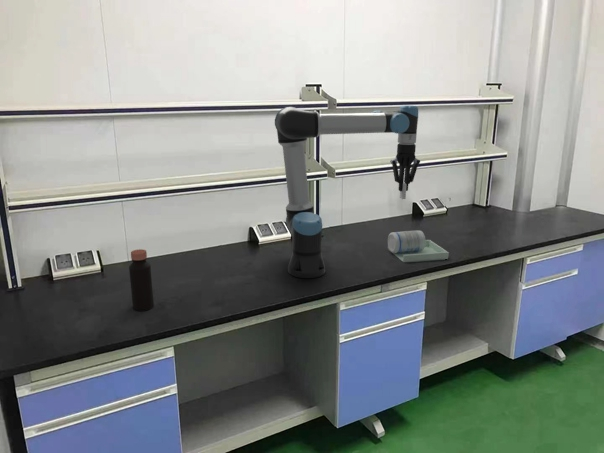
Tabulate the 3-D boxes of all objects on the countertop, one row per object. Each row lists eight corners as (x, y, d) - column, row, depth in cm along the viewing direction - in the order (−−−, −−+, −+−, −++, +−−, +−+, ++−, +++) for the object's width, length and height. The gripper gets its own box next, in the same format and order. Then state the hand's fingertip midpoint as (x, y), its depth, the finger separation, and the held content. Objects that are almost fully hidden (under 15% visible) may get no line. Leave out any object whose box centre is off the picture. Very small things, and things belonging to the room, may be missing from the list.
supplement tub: (396, 254, 216) (426, 252, 220) (395, 233, 216) (426, 231, 219) (387, 252, 226) (416, 249, 229) (386, 231, 225) (415, 229, 229)
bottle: (151, 311, 164) (146, 255, 159) (130, 311, 164) (125, 255, 158) (155, 302, 171) (151, 248, 165) (135, 302, 170) (130, 248, 164)
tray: (403, 262, 211) (404, 255, 210) (387, 248, 228) (388, 242, 227) (448, 259, 216) (448, 252, 215) (429, 246, 233) (429, 239, 232)
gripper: (395, 144, 201) (391, 200, 208) (425, 144, 204) (420, 199, 210) (388, 142, 208) (385, 196, 215) (417, 142, 211) (412, 195, 217)
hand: (402, 198), depth 213 cm, fingers closed
